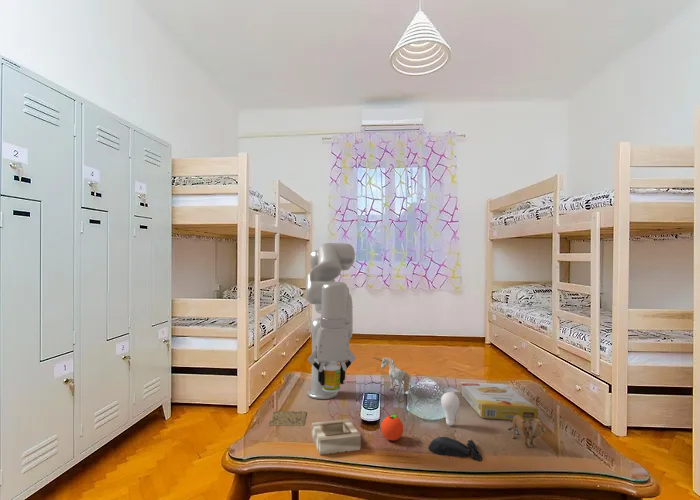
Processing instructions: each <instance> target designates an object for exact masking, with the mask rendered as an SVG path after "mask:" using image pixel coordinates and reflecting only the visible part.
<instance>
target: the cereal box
mask: <svg viewBox="0 0 700 500" xmlns="http://www.w3.org/2000/svg"><path fill="white" fill-rule="evenodd" d="M460 393H461V394H462V395H461V394H460ZM459 394H460V395H461V396H462V397H463V398H464V400H465V401H466V402H467V403H468V404H469V405H470V407H471V408H472V409H473V410H474V411H475V412H476V413H477V414H478V415H479V416H480V417H481V418H482V419H491V420H492V419H494V420H508V421H513V418H514V416H516V415H518V416H521V417H522V418H523V420H524V421H525V420H529V419H534V418H535V419H538V411H539V410H538V408H537V407H536V406H535V405H534V404H533V403H531V402H529V401H528V400H527V399H526V398H524V397H523V396H521V395H520V394H519V393H518V392H517V391H515V390H514V389H512V388H511V387H510V386H508V385H507V384H506V383H491V382H490V383H489V382H486V383H485V382H464V381H463V382H462V381H460V382H459Z"/></svg>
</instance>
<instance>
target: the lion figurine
mask: <svg viewBox="0 0 700 500" xmlns="http://www.w3.org/2000/svg"><path fill="white" fill-rule="evenodd" d="M546 429H547V427H546V426H544V425H543V423H541V420H540V419H539V418H537V419H535V418H534V419H529V420H525V421H524V420H523V418H522V417H521V416H518V415H516V416H514V418H513V420H512V426H511V427H509V428H508V429H507V430H508V431H512V435H511V437H512V439H517V436H516V435H521V433H522V435H523V448H525V449H528V448H529V445H530V446H531V447H533V448H535V446H536V445H535V444H534V440H535V439H537V438H538V437H541V435H542V434H544V433H545V432H546ZM528 438H529V445H528Z"/></svg>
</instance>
